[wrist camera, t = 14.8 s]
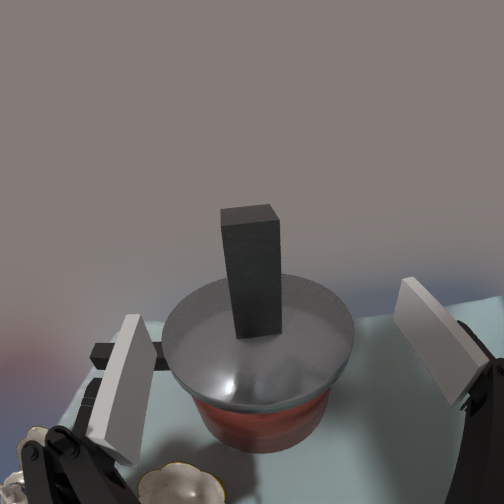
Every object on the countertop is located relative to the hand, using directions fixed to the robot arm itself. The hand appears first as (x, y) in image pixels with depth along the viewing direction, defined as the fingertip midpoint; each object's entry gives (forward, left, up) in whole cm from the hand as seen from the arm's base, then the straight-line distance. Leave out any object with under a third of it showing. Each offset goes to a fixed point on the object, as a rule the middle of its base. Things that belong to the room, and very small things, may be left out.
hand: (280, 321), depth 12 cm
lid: (0, -10, -10) cm, 14 cm away
